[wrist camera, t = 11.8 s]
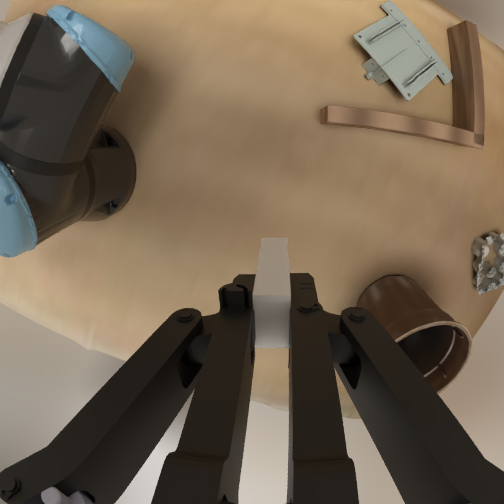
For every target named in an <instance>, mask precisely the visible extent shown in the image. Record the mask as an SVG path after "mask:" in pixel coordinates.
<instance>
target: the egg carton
mask: <svg viewBox="0 0 504 504" xmlns="http://www.w3.org/2000/svg"><path fill="white" fill-rule="evenodd" d="M496 236H497V240H496V241H495V242H494V245H493V249H494V251H496V252H497V257H496V258H495V259H494V262H493V265H494V266H495V267H496V268H497V270H496V269H495V267H494V266H493V265H491V264H490V263H489V262H484V259H483V258H484V257H486V256H487V255H488V253H489V247H488V246H486V245H487V244H488V245H490V244H492V243H493V241H494V240H495V238H496ZM472 252H473V254H475V255H476V259H475V261H474V262H473V263H472V265H473V268H474V270H475V271H476V272H477V273H476V276H475V277H474V278H473V284H475V285H476V287H477V291H478V293H479V295H481V293H483V292H489V290H493V289H496V288H498V286H502V285H504V233H502V234H501V235H500V236H499V235H498V234H496V233H495V232H493V231H491V232H489V233H488V237H487V238H486V240H483V239H482V238H480V237H478V238H476V239H475V243H474V245H473V246H472ZM483 262H484V263H483ZM479 271H481V272H482V273H483V274H484V275H485V276H487V277H485V278H484V279H483V277H484V276H483V275H482V274H481V273H480V272H479ZM491 277H493V278H492V279H490V278H491ZM482 279H483V280H482ZM481 281H482V282H481ZM480 282H481V285H479V284H480ZM478 285H479V286H478Z"/></svg>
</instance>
